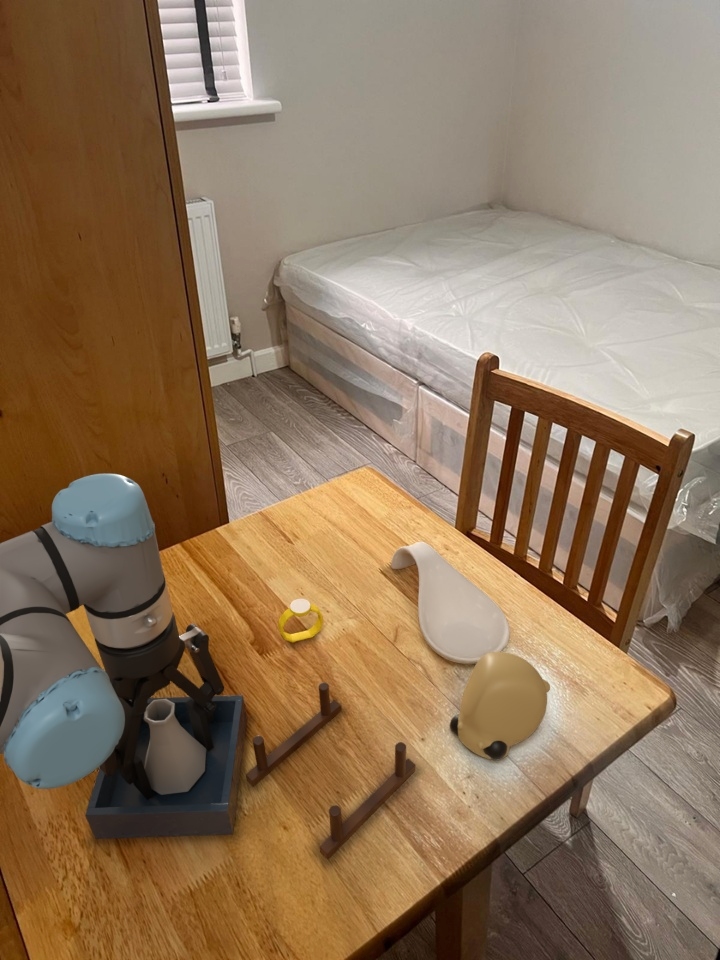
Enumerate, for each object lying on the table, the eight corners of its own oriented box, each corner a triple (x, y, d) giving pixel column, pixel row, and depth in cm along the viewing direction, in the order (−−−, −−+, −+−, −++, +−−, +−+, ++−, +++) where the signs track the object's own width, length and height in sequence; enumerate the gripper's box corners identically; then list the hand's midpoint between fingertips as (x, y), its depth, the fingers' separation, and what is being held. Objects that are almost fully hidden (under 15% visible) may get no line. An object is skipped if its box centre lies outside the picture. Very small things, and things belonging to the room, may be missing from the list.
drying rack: (327, 860, 75) (324, 828, 72) (246, 780, 83) (240, 748, 79) (415, 770, 83) (416, 738, 80) (334, 705, 91) (332, 673, 87)
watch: (283, 650, 98) (280, 619, 95) (278, 636, 100) (274, 605, 97) (325, 637, 100) (323, 606, 97) (319, 624, 102) (317, 593, 99)
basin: (232, 834, 77) (227, 810, 75) (95, 839, 77) (84, 815, 75) (247, 719, 89) (243, 694, 87) (128, 723, 89) (120, 698, 87)
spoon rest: (524, 659, 96) (530, 620, 92) (447, 690, 92) (450, 651, 88) (435, 553, 114) (437, 517, 110) (367, 576, 110) (366, 539, 106)
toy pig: (463, 723, 92) (420, 723, 84) (508, 640, 92) (468, 632, 84) (526, 773, 86) (486, 778, 78) (575, 684, 86) (539, 680, 77)
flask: (158, 735, 86) (142, 678, 80) (216, 744, 85) (204, 688, 79) (131, 790, 80) (111, 734, 75) (192, 802, 79) (177, 745, 73)
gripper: (52, 710, 61) (112, 853, 74) (242, 586, 73) (265, 728, 86) (12, 663, 66) (75, 806, 79) (198, 553, 77) (225, 693, 90)
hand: (174, 765), depth 82 cm, fingers closed on flask, 7 cm apart
